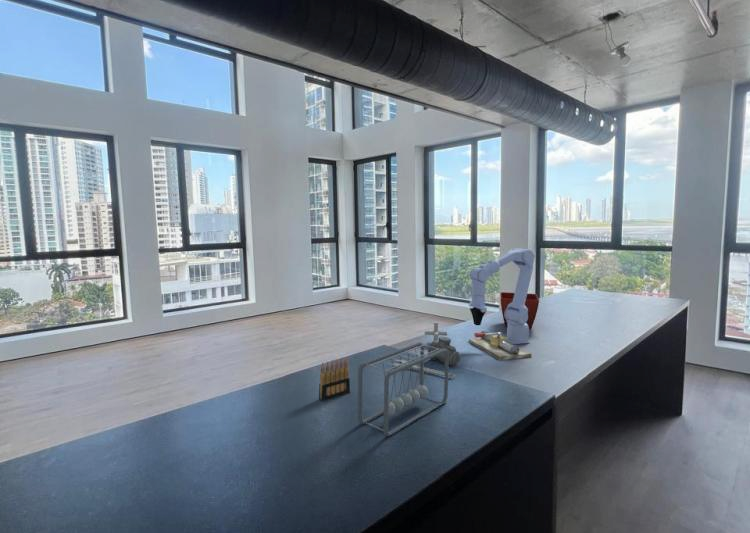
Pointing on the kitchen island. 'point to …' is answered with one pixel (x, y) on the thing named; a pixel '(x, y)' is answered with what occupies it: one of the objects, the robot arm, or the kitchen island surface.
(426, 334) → the pipe connector
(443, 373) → the adjustable wrench
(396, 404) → the newton's cradle
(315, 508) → the kitchen island surface
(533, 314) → the plant pot
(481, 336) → the valve lever
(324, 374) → the ammunition clip
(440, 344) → the pipe fitting
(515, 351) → the valve pipe
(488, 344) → the valve board
